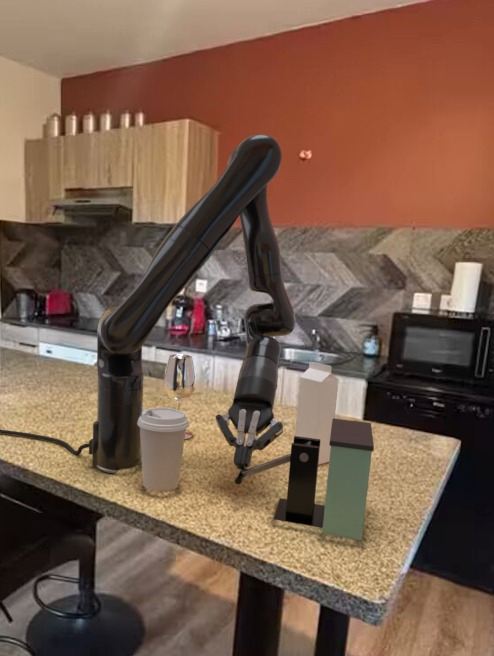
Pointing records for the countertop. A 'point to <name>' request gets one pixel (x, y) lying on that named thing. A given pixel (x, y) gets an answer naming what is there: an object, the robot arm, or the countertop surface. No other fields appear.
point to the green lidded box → (347, 478)
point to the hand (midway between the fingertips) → (240, 467)
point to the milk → (317, 406)
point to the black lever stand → (302, 486)
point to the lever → (263, 467)
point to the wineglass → (179, 380)
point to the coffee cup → (162, 447)
